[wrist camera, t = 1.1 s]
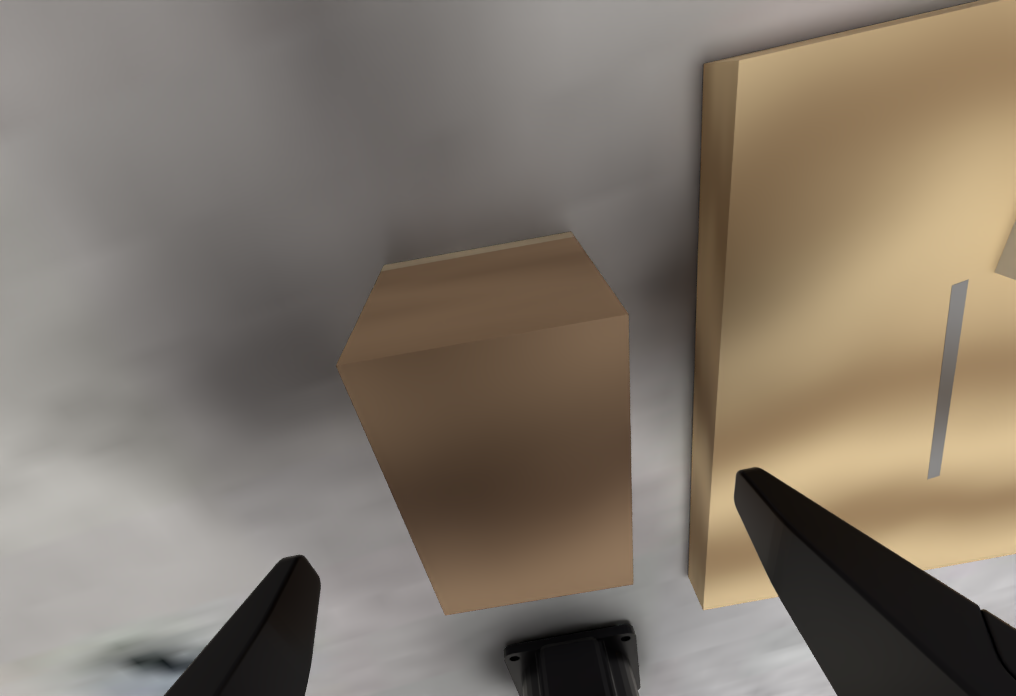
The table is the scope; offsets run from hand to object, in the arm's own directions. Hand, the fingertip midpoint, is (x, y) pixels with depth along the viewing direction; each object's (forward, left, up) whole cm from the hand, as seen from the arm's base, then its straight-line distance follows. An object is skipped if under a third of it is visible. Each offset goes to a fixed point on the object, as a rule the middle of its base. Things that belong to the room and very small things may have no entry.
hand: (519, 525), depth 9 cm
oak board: (-3, -15, -5) cm, 16 cm away
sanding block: (0, 0, -6) cm, 6 cm away
